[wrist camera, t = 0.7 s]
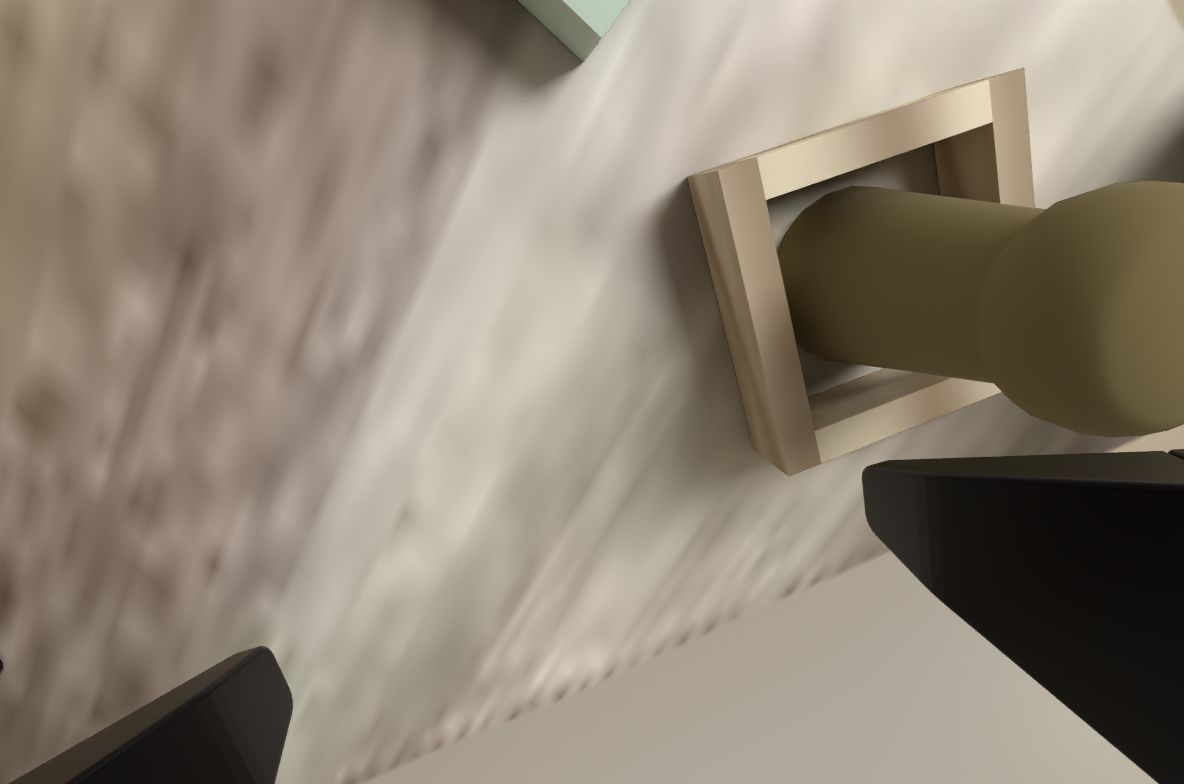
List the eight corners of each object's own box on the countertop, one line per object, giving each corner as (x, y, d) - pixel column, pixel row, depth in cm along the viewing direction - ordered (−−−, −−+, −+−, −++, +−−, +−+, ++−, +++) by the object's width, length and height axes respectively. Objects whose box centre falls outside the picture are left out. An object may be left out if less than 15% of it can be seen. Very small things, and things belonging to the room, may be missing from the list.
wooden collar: (754, 450, 23) (788, 476, 20) (686, 176, 20) (717, 170, 17) (988, 358, 24) (1047, 373, 21) (959, 85, 21) (1024, 67, 18)
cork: (803, 389, 22) (1099, 533, 12) (747, 233, 20) (1043, 244, 10) (945, 314, 23) (1352, 392, 12) (903, 155, 21) (1345, 86, 10)
